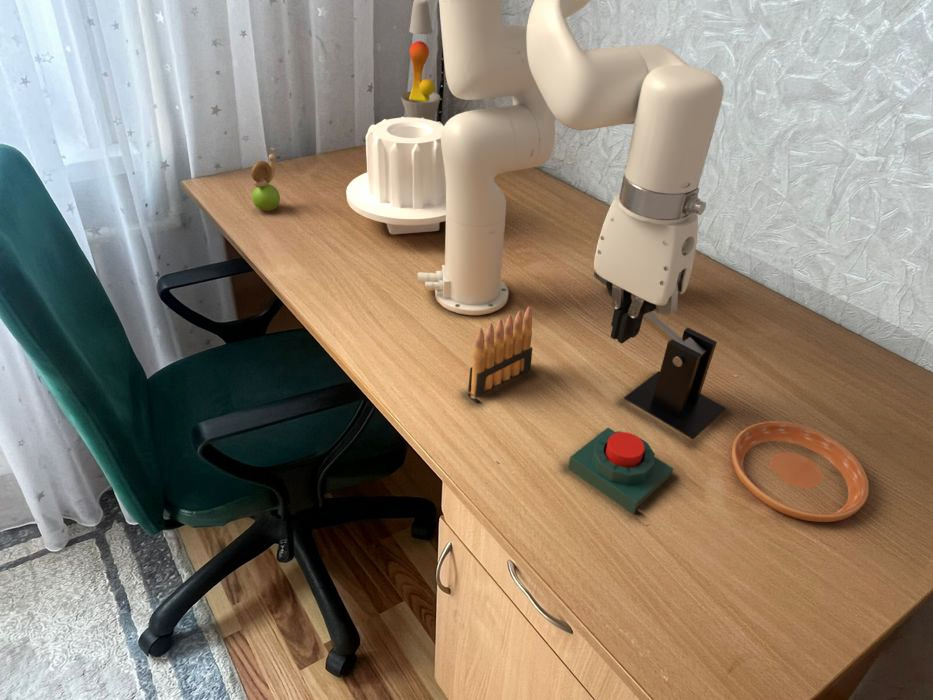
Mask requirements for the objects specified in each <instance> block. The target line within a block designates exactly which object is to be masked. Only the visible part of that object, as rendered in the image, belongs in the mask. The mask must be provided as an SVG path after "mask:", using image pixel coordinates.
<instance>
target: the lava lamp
mask: <svg viewBox="0 0 933 700" xmlns="http://www.w3.org/2000/svg"><path fill="white" fill-rule="evenodd" d="M409 33H410V34H414V35H428V34H431V33H433V29H432V22H431V15H430V7H429V1H428V0H413V2H412V9H411V17H410V25H409ZM408 53H409V56H410V59H411V63H412V69H413V81H412V87H411V91H407V92H406V91H405V92H404V93H402V94H401V95H400V99H401V102H402V105H403V108H404V111H405V113H406V117H409V118H422V117H423V118H424V119H428V120H432V121H434V119H435V116H436V113H437V110H438V107H439V105H440V101H441V95H440V94H438V93H436V92H435V89H436V85H435V82H434V81H433V80H432V79H430V78H424V79H422V77H423V70H424V67H425V64H426V62H427V60H428V58H429V55H430V49H429V46H428V45H427V43H425V42H424V41H421V40H417V41H414V42H413V43H411V44H410V48H409V51H408Z"/></svg>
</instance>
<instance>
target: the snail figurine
mask: <svg viewBox="0 0 933 700" xmlns="http://www.w3.org/2000/svg"><path fill="white" fill-rule="evenodd" d="M269 150H270V151H271V152H273V153H270V154H269V155H268V161H269V162H267V161H264V160H258V161H257V162H255V163H254V164H253V165H252V167H251V178H252V179H253V181H254V183H253V185H254V186H255V187H254V189H253V191H252V195H251V199H252V202H253V204H254V206H255V207H256V208H257V209H259V210H261V211H264V212H269V211H273V210H275V209H276V208H278V206H279V204H280V201H281V195H280V192H279V190H278V189H277V188H276V187H275V186H274V185H272V184H270V183H271V182H272V181H273V179H274V177H275V172H276V155H275V151H276V148H274V147H269Z"/></svg>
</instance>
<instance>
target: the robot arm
mask: <svg viewBox="0 0 933 700" xmlns="http://www.w3.org/2000/svg"><path fill="white" fill-rule="evenodd" d="M591 1H592V0H533V3H532V5H531V8H530V11H529V16H528V18H527V24H511V25H504V23H503V18H502V5H501V3H502V2H501V0H438V5H439V16H440V17H439V18H440V19H439V20H440V30H441V32H440V33H441V42H442V54H443V63H444V73H445V78H446V85H447V87H448V89H449V91H450V93H451V94H452V95H453V96H454V97H455V98H457V99H460V100H465V101H477V100H479V101H480V100H487V99H496V98H497V99H498V98H505V97H511V99H512V105H506V106H495V107H487V108H479V109H473V110H467V111H463V112H460V113H458V114H455V115H453V116H452V117H450V118H449V119H448V120H447V121H446V122H445V123H444V124H443V126H444V127H443V130H442V133H441V148H442V155H443V161H444V168H445V177H446V221H445V242H444V264H442V265H441V270H436V271H435V272H429V271H428V272H427V271H426V272H423V271H422V272H417V284H418V285H419V284H420V285H422V284H423V285H424V290H425V291H433V290H434V296H435V299H436V301H437V303H439V304H440V305H441V306H442V307H443V308H445V309H446V310H448V311H450V312H453V313H456V314H460V315H463V316H464V315H465V316H467V315H468V316H482V315H487V314H488V315H489V314H493V313H494V312H496V311H498V310H500V309H502V308H503V307H504V306H505V305H506V304H507V303H508V300H509V289H508V287H507V285H506V284H505V282H504V281H502V280H501V276H502V268H503V267H502V265H503V253H504V242H505V241H504V239H505V228H506V215H507V200H506V197H505V194H504V192H503V190H502V189H501V188H500V187H499V186H498V184H497V183H496V181H495V178H496V177H497V176H498V175H502V174H506V173H511V172H516V171H522V170H527V169H531V168H537V167H540V166H542V165H544V164H545V163H546V162H548V161H549V160H550V158H551V156H552V154H553V152H554V148H555V141H556V119H557V121H559V122H560V124H562V125H563V126H564V127H567V128H569V129H572V130H575V131H589V130H595V129H602V128H607V127H609V128H610V127H616V126H622V125H633V128H632V132H631V138H630V143H629V147H628V153H627V156H626V163H625V167H624V172H623V176H622V182H621V187H620V191H619V193H618V194H616V195H615V196H614V198H613V199H612V202H611V204H610V207H609V209H608V210H607V214H606V216H605V219H604V222H603V224H602V227H601V231H600V234H599V237H598V241H597V244H596V249H595V254H594V259H593V268H594V271H593V277H594V278H595V279H596V280H597V281H598V282H600V283H601V285H603V286H605V287H606V290H607V292H608V294H609V295H610V297H611V302H610V303H611V307H612V309H613V315H612V319H611V324H610V326H611V331H610V338H611V339H613V340H617V342H618V343H620V344H621V345H623V344H624V343H625V342H627V341H628V340H630V339H631V338H632V339H633V338H635V337H637V336H638V335H639V333H640V330H641V327H642V324H643V323H642V322H643V320H644V319H643V315H644V314H646V313H649V312H652V313H653V312H654V313H656V314H660V315H664V316H672V315H673V314H674V313H676V312H677V311H678V303H679V302H678V301H679V295H683V294H684V293H685V292H686V291H687V288H688V286H689V282H690V278H691V274H692V270H693V266H694V260H695V255H696V249H697V243H698V230H699V216H701V215H702V214H703V213H704V212H705V210H706V207H707V202H705V201H703V200H701V198H699V193H700V188H699V185H700V181H701V178H702V176H703V175H702V174H703V171H704V167H705V164H706V160H707V157H708V153H709V149H710V146H711V142H712V139H713V135H714V131H715V128H716V126H717V125H716V124H717V121H718V117H719V113H720V111H721V107H722V102H723V98H724V91H725V90H724V85H723V82H722V80H721V79H720V78H719V76H718V75H716V74H714V73H712V72H710V71H708V70H705V69H703V68H700V67H695V66H691V65H689V64H688V62H686V61H684V60H683V59H682V58H681V57H680V56H679V55H678V54H677V53H675V52H674V51H673V50H671V49H670V48H669V47H666V46H664V45H660V44H638V45H624V46H622V45H621V46H614V47H603V48H602V47H601V48H592V49H585V50H584V49H583V48H582V47H581V46H580V44H579V43H578V41H577V39H576V38H575V36H574V34H573V32H572V31H571V28H570V26H569V25H568V22H567V19H568V18H569V17H571V16H573V15H574V14H576V13H578V12H579V11H581V10H582V9H583V8H585V7H586V6H587V5H588V4H589V3H590V2H591ZM634 295H635V296H634ZM633 297H634V299H633ZM632 300H633V301H632ZM614 309H615V310H614Z"/></svg>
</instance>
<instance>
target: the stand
mask: <svg viewBox="0 0 933 700" xmlns="http://www.w3.org/2000/svg"><path fill="white" fill-rule="evenodd" d="M689 337H691V338H692V339H693V340H694V341H695V342H696V343H697V344H699V345H700V346H701V347H702V348H703V349H704V350H706V352H705V353H704V354H703V356H702V357H701V354H700V353H698V352H696V351H694V350H692V349H690V348H688V347H686V346H684V345H682V344H681V343H679V342H677V341H675V340H673V339H671V340H670V341H669V342H668V341H667V344H666V347H665V352H664V356H663V358H662V363H661V365H660V366H661V367H660V370H658V371H657V372H656V373H654V374H653V375H651V376H650V377H649V378H648V379H646V380H645V381H643V383H641V384H640V385H638V386H637V387H636V388H634V389H633V390H632V391H630V392H629V393H628V394H627V395H625V396H624V397H623V399H624V400H625V401H627V402H629V403H631V404H632V405H634V406H635V407H637V408H639V409H641V410H642V411H644V412H646V413H648V414H649V415H651V416H652V417H654V418H656V419H657V420H659V421H661V422H663V423H664V424H666V425H668V426H669V427H671V428H672V429H675V430H676V431H678V432H679V433H681V434H683V435H685V436H686V437H688V438H689V439H692V440H693V439H694V438H695V437H697V435H698V434H699V433H701V432H702V431H703V430H704V429H706V427H708V426H709V424H711V423H712V422H713V421H714V420H715V419H716V418H717V417H718V416H719V415H720V414H722V413H723V412H724V411H725V410H726V409H727V408H726V406H725V405H722V404H720V403H718V402H716V401H714V400H712V399H711V398H709V397H707V396H705V395H703V394H702V389H703V387H704V385H705V380H706V378H707V375H708V371H709V369H710V365H711V362H712V359H713V356H714V353H715V349H716V347H717V344H718V342H717V340H715V339H712V338H710V337H708V336H706V335H705V334H702V333H700V332H698V331H696V330H695V329H692V328H690V327H687V328H685V329H684V330H683V333H682V337H681V339H682V340H684V341H685V340H687V339H688V338H689ZM700 357H701V358H700Z"/></svg>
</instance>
